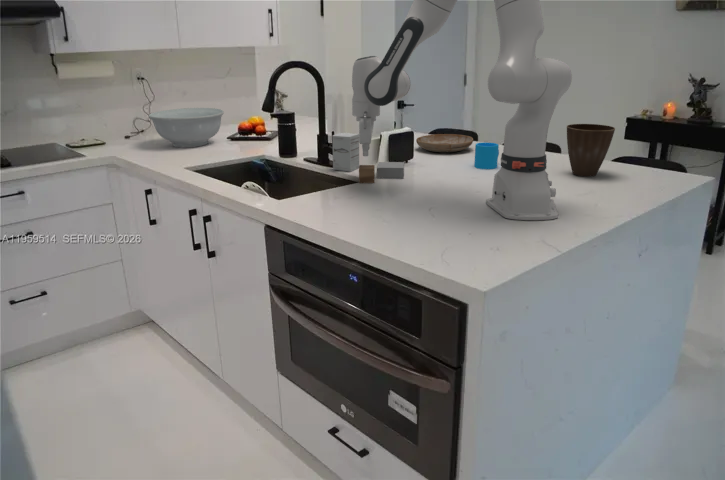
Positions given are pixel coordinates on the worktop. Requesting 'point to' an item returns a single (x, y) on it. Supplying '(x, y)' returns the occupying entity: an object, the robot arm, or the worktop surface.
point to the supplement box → (345, 151)
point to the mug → (486, 155)
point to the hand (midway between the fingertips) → (366, 152)
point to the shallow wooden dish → (444, 142)
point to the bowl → (187, 125)
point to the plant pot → (588, 147)
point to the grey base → (390, 170)
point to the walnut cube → (366, 173)
